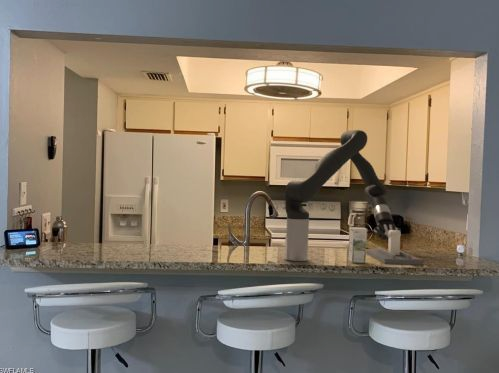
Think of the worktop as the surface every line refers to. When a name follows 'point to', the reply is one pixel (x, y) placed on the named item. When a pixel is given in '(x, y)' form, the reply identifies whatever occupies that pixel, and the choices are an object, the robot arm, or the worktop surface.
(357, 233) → the syrup box
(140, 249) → the worktop surface
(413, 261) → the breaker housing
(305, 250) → the robot arm
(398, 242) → the handle
